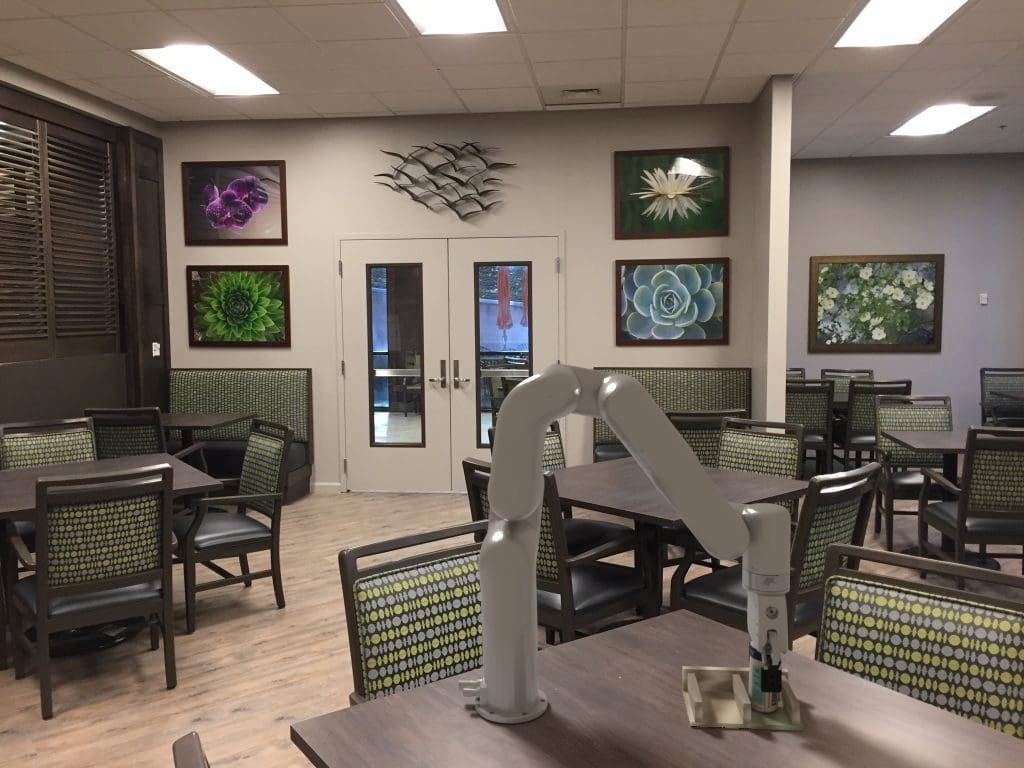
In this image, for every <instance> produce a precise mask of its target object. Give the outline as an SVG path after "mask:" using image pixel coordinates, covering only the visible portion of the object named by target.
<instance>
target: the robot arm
mask: <svg viewBox="0 0 1024 768" xmlns="http://www.w3.org/2000/svg"><path fill="white" fill-rule="evenodd" d="M497 414H498V415H497V418H496V423H495V430H494V438H493V439H494V440H493V447H492V453H491V465H490V473H489V474H490V475H489V480H488V483H487V499H488V503H489V514H488V525H487V533H486V535H485V536H484V539H483V541H482V544H481V548H480V551H479V554H478V555H479V556H478V575H479V576H478V578H479V586H480V603H481V604H480V605H481V611H480V612H481V634H482V635H481V636H482V637H481V639H482V677H481V678H480V677H478V678H477V679H476V680H474V679H473V680H472V679H463V678H462V679H458V692H462V696H463V697H465V698H466V697H475V698H474V708H475V711H476V712H477V714H478V715H480V717H482V718H484V719H486V720H488V721H491V722H495V723H500V724H519V723H526V722H530V721H532V720H535V719H537V718H539V717H540V716H542V715H543V714H544V713H545V712H546V711H547V709H548V697H547V694H546V693H545V692H544V691H543V690H541V689H540V688H539V650H538V649H539V646H538V645H539V643H538V642H539V641H538V602H537V601H538V597H537V558H538V550H539V545H540V543H539V542H540V536H541V535H540V533H541V521H542V513H543V502H544V495H545V494H544V491H545V477H544V474H543V473H544V472H543V471H542V469H543V457H544V456H543V455H544V450H545V441H546V435H547V434H546V433H547V431H548V429H549V427H550V426H551V424H552V423H554V422H555V421H557V420H558V419H561V418H564V417H566V416H568V415H570V414H571V415H578V416H584V417H590V418H594V419H595V418H597V419H603V420H604V422H605V423H606V424H607V426H608V427H609V428H610V430H611V431H612V433H613V434H615V436H616V437H617V439H618V440H619V441H620V442H621V444H623V446H624V448H625V449H626V450H627V451H628V452H629V453H630V455H631V456H632V458H633V459H634V460H635V462H636V463H637V464H638V466H639V467H640V468H641V470H642V471H643V472H644V473H645V475H646V476H647V477H648V478H649V480H650V482H651V483H652V485H653V486H654V487H655V488H656V489H657V491H659V492H660V494H661V495H662V496H663V497H664V498H665V499H666V501H667V503H669V505H670V506H671V507H672V508H673V510H674V511H675V512H676V514H677V515H678V517H679V518H680V519H681V520H682V522H683V523H684V525H685V526H686V527H687V528H688V529H689V530H690V531H691V533H692V534H693V536H694V538H696V540H697V541H698V542H699V544H701V546H702V547H703V549H704V550H705V551H706V552H707V553H708V554H709V555H710V556H712V557H713V558H715V559H718V560H720V561H733V560H737V559H739V558H740V557H741V556H742V574H741V575H742V582H741V584H742V588H743V589H744V590H746V591H747V612H746V613H747V615H746V616H747V617H746V618H747V631H748V635H749V641H748V664H749V665H750V642H751V641H753V643H754V646H755V648H756V649H757V651H758V652H760V653H761V655H762V663H763V667H761V691H762V692H770V693H780V692H781V690H782V669H783V667H782V658H781V656H782V654H784V655H787V654H788V652H789V634H788V633H789V629H788V609H787V599H786V594H787V593H789V592H790V590H791V589H790V588H791V586H790V585H791V584H790V582H791V579H790V578H791V575H790V574H791V526H792V525H791V523H792V521H791V520H792V519H791V513H790V511H789V510H788V509H787V508H786V507H785V506H783V505H780V504H777V503H770V502H769V503H768V502H762V503H761V502H760V503H759V502H757V503H752V504H746V503H740V502H739V503H738V502H732V501H728V500H727V498H726V497H725V496H724V494H723V493H722V492H721V491H720V489H719V488H718V486H717V484H715V483H714V481H713V480H712V479H711V477H710V476H709V474H708V473H707V471H706V470H705V469H704V467H703V465H702V464H701V462H700V460H699V458H698V456H697V455H696V453H695V452H694V450H693V449H692V448H691V445H689V443H688V442H687V441H686V440H685V438H684V437H683V436H682V434H681V433H680V431H678V429H677V428H676V427H675V426H674V424H673V423H672V422H671V421H670V419H669V417H668V416H667V415H666V414H665V413H664V411H663V410H662V409H661V408H660V406H659V405H658V404H657V403H656V401H655V400H654V399H653V397H652V396H651V395H650V393H649V392H648V391H647V389H646V388H645V386H644V385H642V383H641V382H640V381H639V380H638V379H636V378H635V377H634V376H632V375H629V374H624V373H619V372H618V373H617V372H612V371H611V372H610V371H603V370H600V369H599V370H597V369H592V368H586V367H581V366H576V365H571V364H570V365H569V364H564V363H563V364H562V363H554V364H549V365H547V366H545V367H543V368H542V369H541V370H539V371H538V373H535V374H534V375H531V376H529V377H528V378H526V379H524V380H523V381H521V382H519V383H518V384H516V386H515V387H513V388H512V389H511V391H510V392H509V393H508V394H507V395H506V397H505V398H504V399H503V401H502V403H501V405H500V408H499V411H498V413H497ZM767 637H768V638H767ZM764 647H770V649H764ZM781 653H782V654H781ZM766 655H771V657H769V658H768V660H767V657H766Z"/></svg>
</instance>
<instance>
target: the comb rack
mask: <svg viewBox="0 0 1024 768" xmlns="http://www.w3.org/2000/svg"><path fill="white" fill-rule="evenodd" d="M681 668H682V679H681V680H682V688H681V690H682V696H683V699H684V700H685V701H684V705H685V704H686V705H685V709H686V708H687V709H686V713H687V717H689V718H688V721H690V722H689V725H691V726H697V727H696V728H708V727H722V728H721V729H739V728H749V729H748V730H770V729H771V730H774V731H775V730H777V731H801V732H802V731H805V725H804V723H803V721H802V719H801V704H800V702H799V700H798V699H797V696H796V694H795V693H794V691H793V689H792V686H791V685H790V683H789V670H788V669H787V668H782V690H781V692H780V693H778V708H777V710H775V711H773V712H770V713H762V712H758V711H756V710H754V709H753V708H751V702H750V700H749V697H748V693H749V667H735V666H732V667H731V666H727V667H726V666H700V665H699V666H696V665H695V666H694V665H693V666H692V665H691V666H690V665H689V666H688V665H682V667H681ZM691 726H690V727H691ZM699 726H700V727H699ZM723 727H725V728H723ZM750 728H751V729H750Z"/></svg>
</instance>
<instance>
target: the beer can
mask: <svg viewBox="0 0 1024 768" xmlns="http://www.w3.org/2000/svg"><path fill="white" fill-rule="evenodd" d="M767 638H768V637H767ZM749 642H750V664H749V665H748V666H749V667H748V668H749V693H748V697H749V700H750V702H751V708H753V709H754V710H756V711H758V712H762V713H770V712H773V711H775V710H777V708H778V693H770V692H762V691H761V667H763V663H762V655H761V653H760V652H758V651H757V649H756V648H755V646H754V643H753V641H749ZM764 649H770V647H764ZM766 657H767V660H768V658H769V657H771V655H766Z"/></svg>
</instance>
